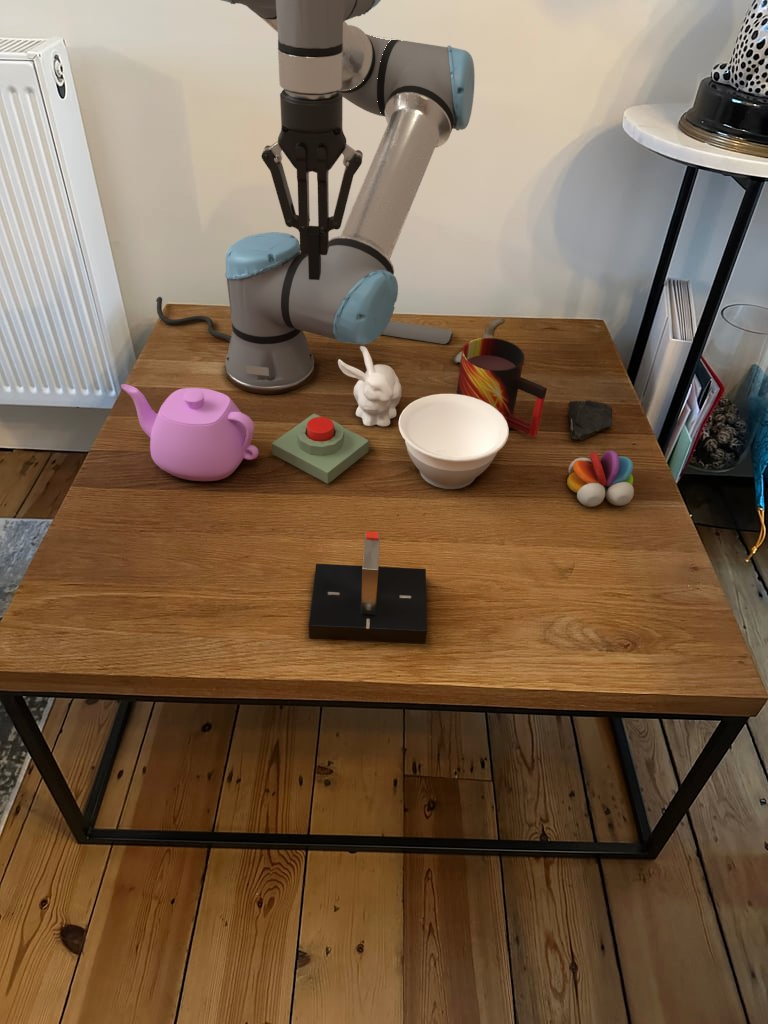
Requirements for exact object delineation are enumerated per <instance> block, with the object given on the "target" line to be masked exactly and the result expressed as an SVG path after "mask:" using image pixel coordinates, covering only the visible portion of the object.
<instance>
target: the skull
mask: <svg viewBox="0 0 768 1024" xmlns="http://www.w3.org/2000/svg"><path fill="white" fill-rule="evenodd" d="M505 321H506V320H505V318H503V317H498V318H495V319H493V320H491V321H490V322H489V323H488V324H487V325H486V327H485V328H484V332H483V334H482V335H481V337H480V338H495V332H496V329H497V328H498V327H499V326H501V325H503V324H504V323H505ZM461 355H462V351H460V352H459V353H457V355H456V356H455V357H454V359H453V362H454V364H458V363H461Z"/></svg>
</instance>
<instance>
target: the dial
mask: <svg viewBox="0 0 768 1024" xmlns="http://www.w3.org/2000/svg"><path fill="white" fill-rule="evenodd" d="M363 541H364V543H363V553H362V555H363V556H362V566H363V567H362V594H361V614H370V615H376V602H377V585H378V567H380V548H381V547H380V546H381V544H380V543H381V532H379V531H365V532H364V540H363Z"/></svg>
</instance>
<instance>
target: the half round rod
mask: <svg viewBox="0 0 768 1024" xmlns="http://www.w3.org/2000/svg"><path fill="white" fill-rule="evenodd" d="M452 334H453V329H447V328H442V327H435V326H430V325H429V326H428V325H423V324H422V325H421V324H416V323H409V322H402V321H397V320H396V321H395V320H390V321H389V323H388V325H387V326H386V328H385V330H384V331H383V333H382V334H381V336H382V335H384V336H390V337H396V338H401V339H402V338H403V339H407V340H414V341H422V342H428V343H434V344H439V345H440V344H441V345H446V344H447V343H449V341H450V340H451V337H452Z"/></svg>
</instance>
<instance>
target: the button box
mask: <svg viewBox="0 0 768 1024" xmlns="http://www.w3.org/2000/svg"><path fill="white" fill-rule="evenodd" d="M316 417H322V415H319V414H317V413H314V412H313V414H311V415H309V416H308V417H307V418H305V419H304V420H302V421H301V422H300V423H298V424H297V425H295V426H294V427H292V428H290V430H288V431H286V432H285V433H284V434H282V435H281V436H279V437H278V438H277V439H275V440H274V441H273V442H271V454H272V455H273V456H275V457H277V458H279V459H281V460H282V461H283V462H286V463H288V464H289V465H292V466H293V467H296V468H297V469H299V470H300V471H303V472H304V473H307V474H308V475H310V476H312V477H313V478H316V479H317V480H320V481H321V482H323V483H325V484H327V485H328V484H330V483H331V482H332V481H334V480H335V479H336V478H337V477H338V476H340V475H341V474H342V473H344V472H345V471H346V470H347V469H349V468H350V467H351V466H352V465H354V464H355V463H356V462H358V461H359V460H360V459H361V458H363V457H364V456H365V455H366V454H367V453H368V452H369V451H370V440H369V439H367V438H366V437H363V436H362V435H360V434H357V433H356V432H353V431H352V430H349V429H347V428H345V427H343V426H342V424H340V423H338V422H337V421H335V420H333V419H330V420H331V421H332V422H333V424H334V436H333V437H332V438H331V439H330V440H328V441H323V442H319V441H313V440H311V439H310V438H309V437H308V435H307V423H308V422H309V421H310V420H311V419H313V418H316Z"/></svg>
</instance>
